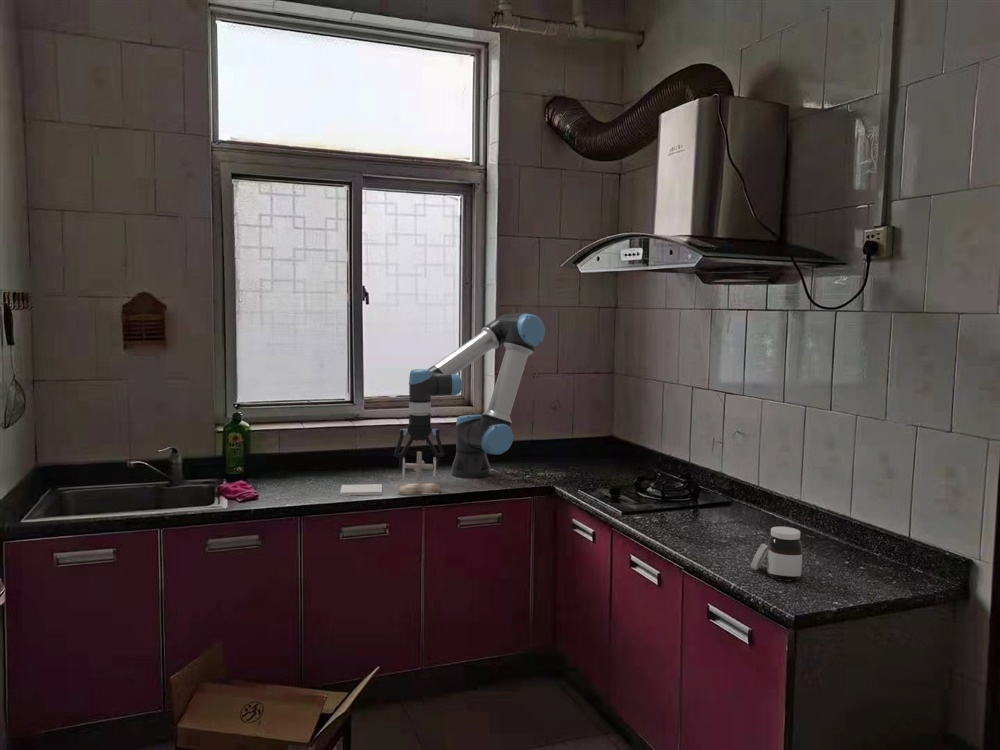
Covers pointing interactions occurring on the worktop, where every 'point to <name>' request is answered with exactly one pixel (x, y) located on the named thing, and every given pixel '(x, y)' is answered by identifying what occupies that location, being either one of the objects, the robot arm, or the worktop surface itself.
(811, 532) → the worktop surface
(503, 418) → the robot arm
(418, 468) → the pipe connector
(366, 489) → the tile
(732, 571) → the worktop surface
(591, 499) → the worktop surface
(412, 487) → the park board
